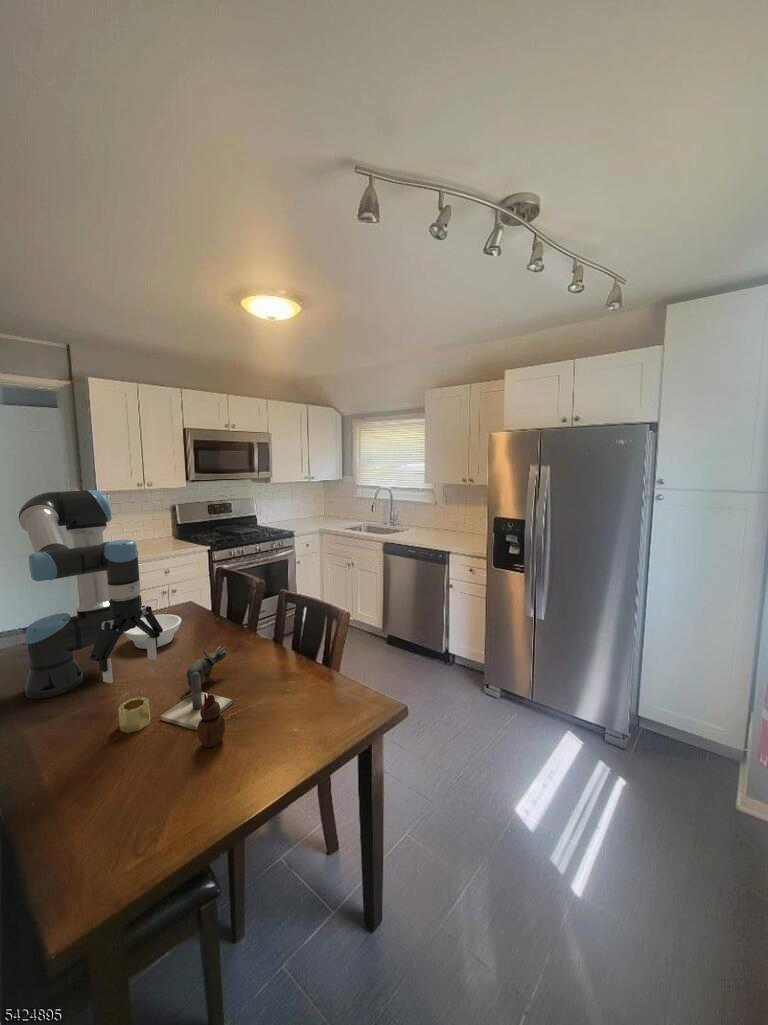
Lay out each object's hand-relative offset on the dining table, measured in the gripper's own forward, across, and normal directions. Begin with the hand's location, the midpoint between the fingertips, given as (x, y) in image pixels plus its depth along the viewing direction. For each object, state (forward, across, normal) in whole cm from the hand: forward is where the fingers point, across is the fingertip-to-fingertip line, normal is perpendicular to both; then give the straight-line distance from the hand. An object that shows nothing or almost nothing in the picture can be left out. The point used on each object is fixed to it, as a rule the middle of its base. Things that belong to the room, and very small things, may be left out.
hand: (131, 669), depth 118 cm
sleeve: (+16, 0, 0) cm, 17 cm away
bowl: (+17, +41, +41) cm, 60 cm away
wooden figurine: (+17, +1, -26) cm, 31 cm away
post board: (+16, +11, -12) cm, 23 cm away
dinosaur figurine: (+17, +21, -3) cm, 27 cm away
